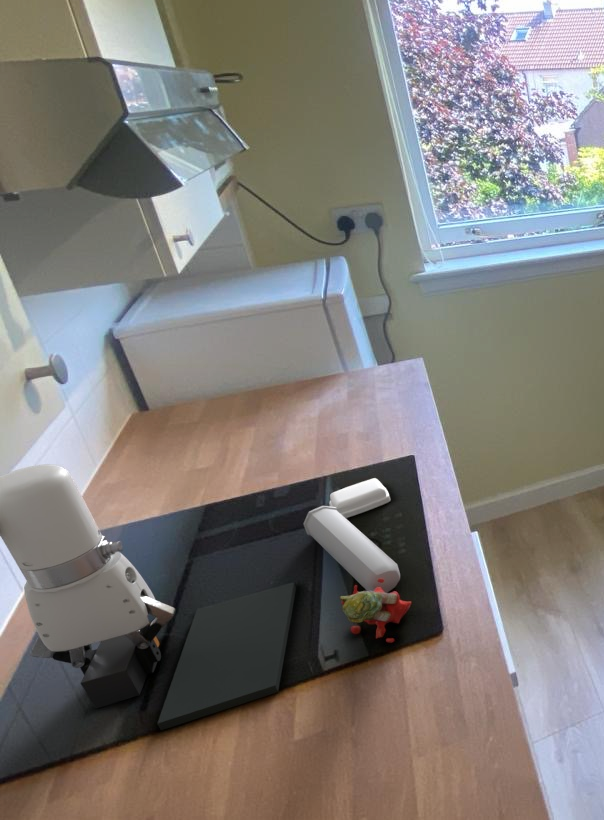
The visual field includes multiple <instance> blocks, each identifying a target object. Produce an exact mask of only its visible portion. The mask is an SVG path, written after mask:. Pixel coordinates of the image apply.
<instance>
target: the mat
mask: <svg viewBox="0 0 604 820" xmlns="http://www.w3.org/2000/svg"><path fill="white" fill-rule="evenodd" d="M296 593H297V587H296V584H295V582H294V581H293V582H290V583H289V582H288V583H286V584H282V585H279V586H275V587H272V588H268V589H265V590H264V589H263V590H261V591H258V592H253V593H250V594H246V595H243V596H240V597H239V596H238V597H236V598H232V599H229V600H225V601H222V602H218V603H214V604H210V605H206V606H203V607H199V608H196V610H195V613H194V615H193V619H192V621H191V624H190V627H189V630H188V633H187V636H186V639H185V642H184V645H183V648H182V650H181V654H180V657H179V660H178V662H177V665H176V667H175V671H174V674H173V677H172V680H171V683H170V686H169V689H168V692H167V695H166V697H165V700H164V703H163V705H162V708H161V711H160V715H159V717H158V719H157V723H156V724H157V726H158V728H159V730H160V731H164V730H167V729H170V728H174V727H176V726H179V725H182V724H185V723H188V722H191V721H195V720H198V719H200V718H204V717H207V716H210V715H213V714H216V713H220V712H222V711H225V710H228V709H231V708H234V707H237V706H240V705H243V704H247V703H249V702H253V701H255V700H259V699H262V698H264V697H268V696H271V695H274V694H278V693H279V689H280V684H281V678H282V672H283V666H284V660H285V655H286V650H287V643H288V638H289V632H290V626H291V621H292V615H293V608H294V603H295V597H296Z"/></svg>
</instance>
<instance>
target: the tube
mask: <svg viewBox="0 0 604 820" xmlns="http://www.w3.org/2000/svg"><path fill="white" fill-rule="evenodd" d="M302 525H303V527H304V529H305V532H306V534H307V536H311V537H312V539H314V540H315V541H316V542H317V543H318V545H320V546H321V547H322V548H323V549H324V550H325V551H326V552H327V553H328V554H329V555H330V556H331V557H332V558H333V559H334V560H335V561H336V562H337V563H338V564H339V565H340V566H341V567H342V568H343V569H344V570H345V571H346V572H347V573H348V574H349V575H351V577H353V579H355V581H357V583H359V585H361V587H363V588H364V589H365V591H374V590H375V588H377V587H381V588H382V590H383V591H384V592H385V593H390V591H392V590H393V589H394V588H396V586H397V585H398V583H399V582H400V580H401V573H400V569H399V565H398V563H396V562H395V561H394V560H393V559H392V558H391V557H390V556H389V555H388V554H386V553H385V552H384V551H383V550H382V549H381V548H380V547H379V546H377V545H376V544H375V543H374V542H373V541H372V540H371V539H369V538H368V537H367V536H366V535H365V534H364V533H363V532H361V531H360V530H359V529H358V528H357V527H356V526H355V525H354V524H353V523H351V521H349V520H348V518H345V517H343V516H342V515H341V514H340V513H339V512H338V510H337V508H336V507H330V505H321V506H319V507H316V508H314V509H312V510H309V511H308V512H307V514H306V517H305V519H304V522H303V524H302ZM378 579H384V582H383V583H380V582H378V581H377V580H378Z"/></svg>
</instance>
